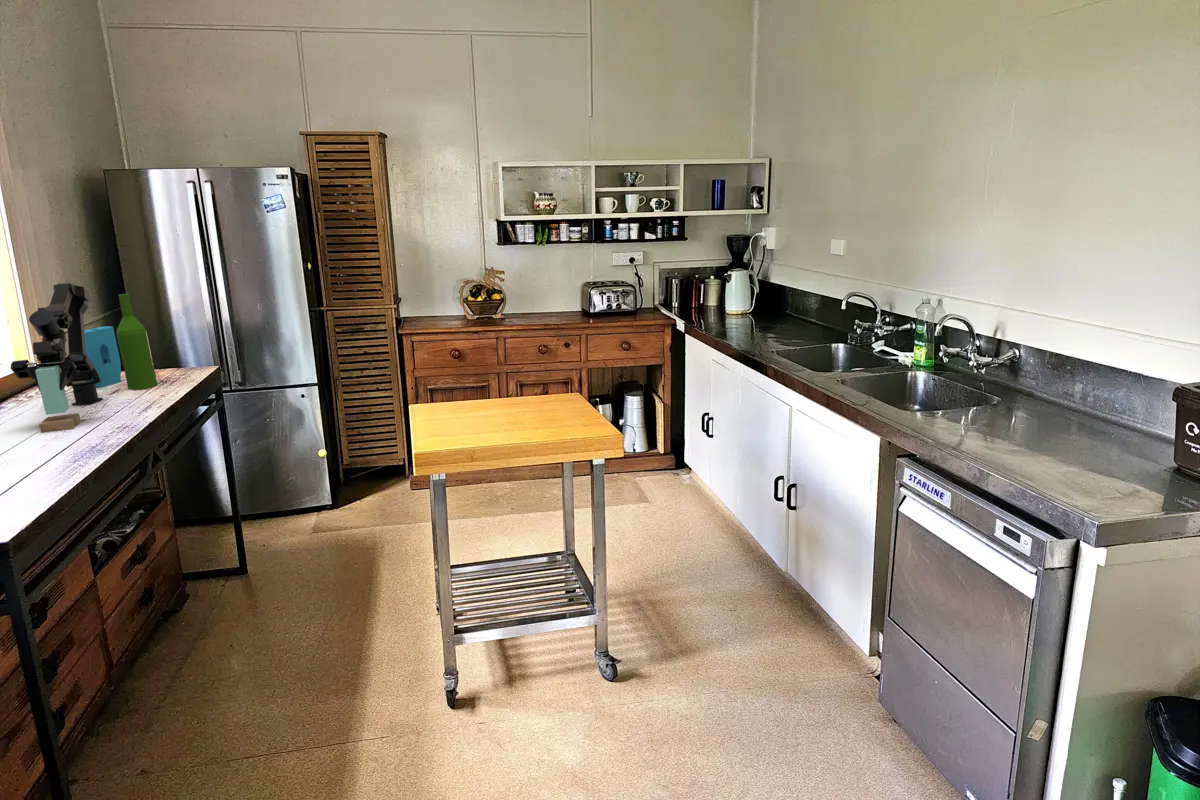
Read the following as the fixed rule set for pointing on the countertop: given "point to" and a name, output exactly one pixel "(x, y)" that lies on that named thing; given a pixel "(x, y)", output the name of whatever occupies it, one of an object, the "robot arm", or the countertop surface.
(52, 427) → the walnut slab
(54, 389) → the teal block
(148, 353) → the wine bottle
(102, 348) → the block
